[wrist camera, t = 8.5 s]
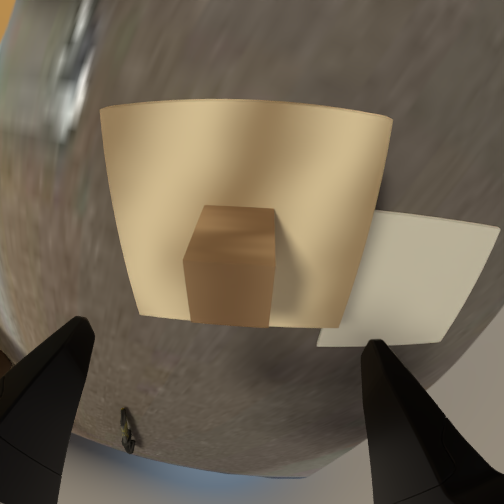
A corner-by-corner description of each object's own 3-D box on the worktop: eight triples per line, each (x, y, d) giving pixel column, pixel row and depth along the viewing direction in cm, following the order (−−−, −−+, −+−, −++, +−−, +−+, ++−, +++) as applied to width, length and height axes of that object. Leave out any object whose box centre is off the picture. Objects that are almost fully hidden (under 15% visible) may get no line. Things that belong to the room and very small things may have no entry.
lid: (385, 116, 11) (441, 148, 7) (336, 318, 18) (348, 385, 14) (108, 106, 11) (41, 134, 7) (143, 305, 18) (119, 367, 14)
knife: (122, 390, 41) (114, 415, 37) (131, 392, 41) (123, 418, 37) (128, 441, 52) (123, 459, 48) (135, 443, 52) (130, 462, 48)
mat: (498, 226, 19) (500, 229, 18) (438, 339, 27) (440, 342, 26) (352, 207, 19) (353, 210, 19) (316, 343, 27) (317, 346, 27)
